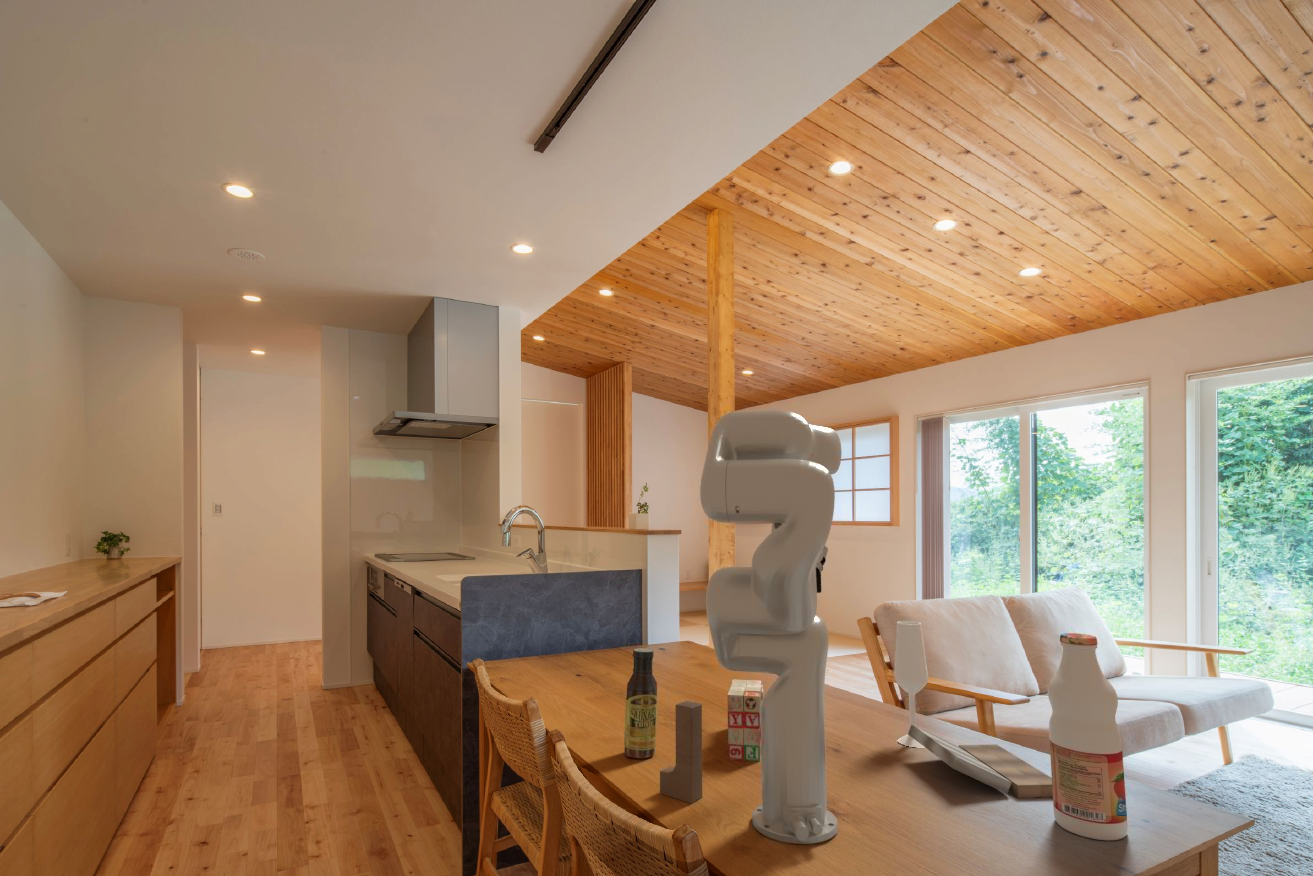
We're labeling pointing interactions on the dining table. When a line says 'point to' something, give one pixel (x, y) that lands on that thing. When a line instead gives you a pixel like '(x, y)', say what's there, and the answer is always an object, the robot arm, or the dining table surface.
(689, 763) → the wooden block
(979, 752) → the walnut floor strip
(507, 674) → the dining table surface
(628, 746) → the sauce bottle
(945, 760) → the grey plank
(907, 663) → the champagne flute
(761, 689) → the stack of blocks
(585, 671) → the dining table surface
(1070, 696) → the fruit juice
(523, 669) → the dining table surface
